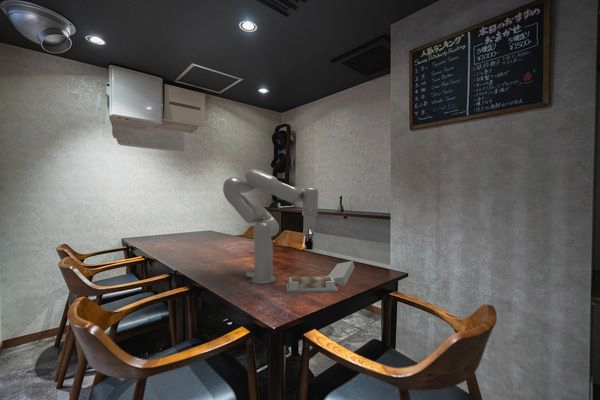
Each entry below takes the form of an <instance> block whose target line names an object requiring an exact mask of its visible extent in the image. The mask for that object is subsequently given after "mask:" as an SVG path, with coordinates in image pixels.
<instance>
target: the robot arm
mask: <svg viewBox="0 0 600 400" xmlns="http://www.w3.org/2000/svg"><path fill="white" fill-rule="evenodd" d="M222 188H223V189H222V191H223V195H224V197H225V200H226V201H227V202H228V203H229V204H230V206H232V207H233V208H234V209H235V211H236V212H237V213H238V215H240V217H241V218H242V219H243V220H244V221H245V222H246V223H247V224H254V226H253V228H252V234H253V235H252V236H253V242H254V244H253V245H254V246H253V248H254V250H253V251H254V271H252V272H249V271H247V272H245V276H246V277H247V278H251V279H250V280H251V282H252V283H254V284H257V285H259V284H260V285H266V284H271V283H274V282H275V281H276V276H274V275H273V271H274V270H273V269H274V268H273V266H274V265H273V260H274V259H273V258H274V257H273V254H274V253H273V252H274V251H273V250H274V249H273V247H274V246H273V241H272V237H274V236H276V235H277V234H278V233H279V230H280V224H279V223H278V221H277V220H276V218H274V217H273V216H272V214H271V213H270V212H269V211H268V210H267V209H266V208H265V207H263V206H262V205H254V204H253V203H251V202H250V200H249V199H248V198H247V197H246V196H245V195H244V193H246V194H247V193H248V192H252V191H253V190H256V189H257V188H258V189H261V190H263V191H266V192H267V193H269V194H271V195H273V196H275V197H277V198H279V199H280V200H283V201H286V202H288V203H300V202H302V210H301V211H302V212H301V216H302V217H303V230H302V231H303V233H302V235H303V237H304V245H305V250H310V251H311V250H313V249H314V248H313V247H314V246H313V245H314V239H313V237H314V235H315V228H316V227H315V226H316V224H315V223H316V217H318V210H319V207H318V206H319V205H318V204H319V190H318V188H316V187H300V186H292V185H289V184H286V183H284V182H282V181H279V180H278V177H276V176H273V175H271V174H269V173H267V172H265V171H264V170H261V169H257V168H250V169H248V170H247V171H246V173H245V175H244V177H238V176H237V177H236V176H233V177H232V176H231V177H229V178H227V179H225V181H224V183H223V187H222Z"/></svg>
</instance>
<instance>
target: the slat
mask: <svg viewBox="0 0 600 400" xmlns="http://www.w3.org/2000/svg"><path fill="white" fill-rule="evenodd" d="M294 277H295V282H299V286H298V288H326V281H329V279H328V277H323V276H294Z"/></svg>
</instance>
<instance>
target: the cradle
mask: <svg viewBox="0 0 600 400" xmlns="http://www.w3.org/2000/svg"><path fill="white" fill-rule="evenodd" d="M295 277H296V276H289V277H288V283H287V282H286V286H285V288H286V293H288V294H289V293H294V294H295V293H297V294H298V293H301V294H302V293H338V292H339V290H338V287H337V286H336V284H335V281H334V280H333V278H332V276H328V275H326V276H325V275H324V276H322V277H328V279H329V281H326V288H298V286H299V282H295Z"/></svg>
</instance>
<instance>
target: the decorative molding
mask: <svg viewBox="0 0 600 400" xmlns="http://www.w3.org/2000/svg"><path fill="white" fill-rule="evenodd" d="M355 267H356V266H355V264H354V261H353V260H351V261H346V262H339V263H337V264H336V265H335V266H334V268H333V269H332V270H331V271H330V272H329V274H328V275H327V276H332V278H333V280H334V281H335V285H338V286H340V287H341V286H342V287H345V286H346V285H347V284H348V281H349V279H350V277H351V275H352V274H353V272H354V270H355Z"/></svg>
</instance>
